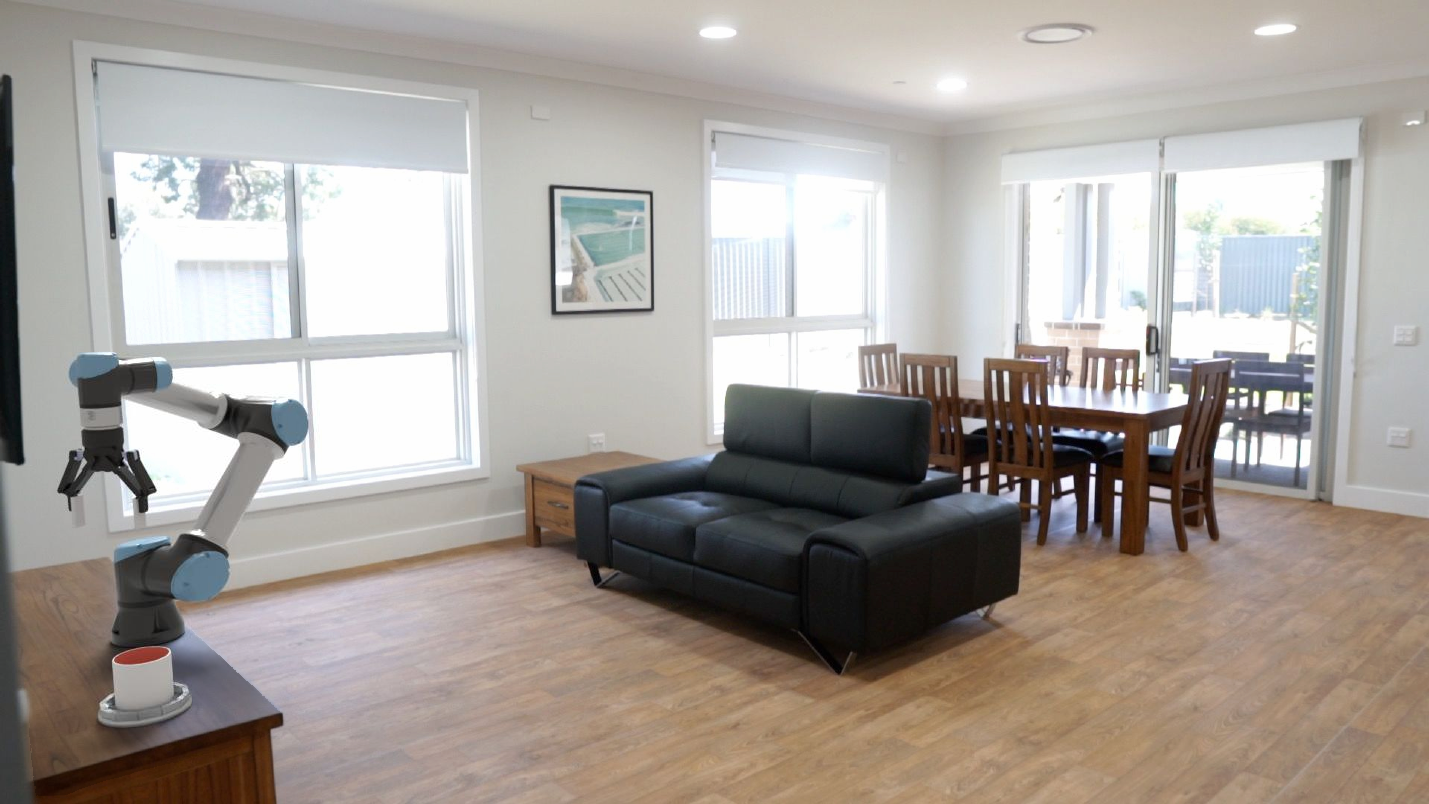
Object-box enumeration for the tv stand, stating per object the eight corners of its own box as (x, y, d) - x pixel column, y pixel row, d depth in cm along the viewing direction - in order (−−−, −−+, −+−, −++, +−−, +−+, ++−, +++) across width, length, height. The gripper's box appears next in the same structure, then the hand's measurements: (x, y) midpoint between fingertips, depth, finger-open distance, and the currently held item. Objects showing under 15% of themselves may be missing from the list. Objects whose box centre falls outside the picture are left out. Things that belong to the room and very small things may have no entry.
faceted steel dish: (123, 694, 206) (122, 682, 205) (205, 691, 207) (204, 679, 207) (81, 729, 190) (80, 716, 190) (170, 726, 191) (169, 713, 191)
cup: (121, 698, 201) (117, 649, 200) (177, 691, 205) (174, 643, 204) (111, 719, 192) (107, 668, 191) (170, 711, 196) (166, 661, 194)
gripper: (32, 428, 208) (40, 530, 210) (147, 430, 206) (155, 533, 208) (58, 423, 215) (66, 521, 218) (170, 425, 213) (177, 524, 216)
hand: (109, 527), depth 213 cm, fingers open, 13 cm apart
